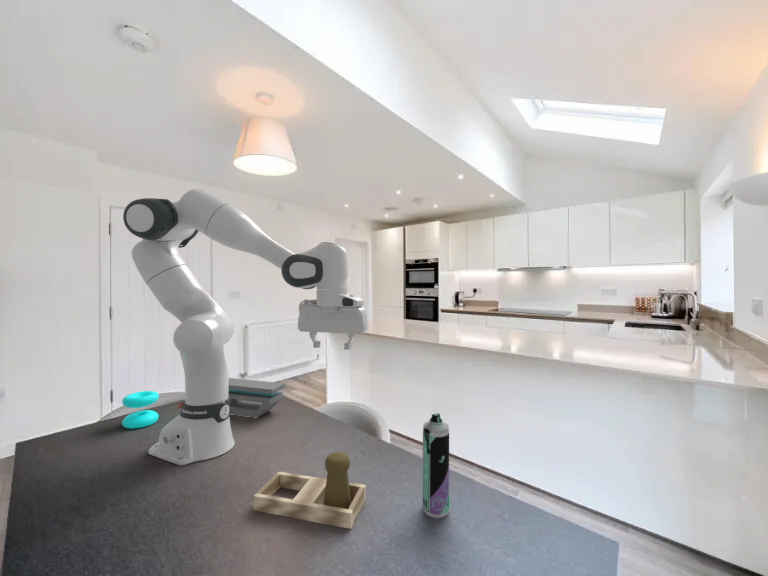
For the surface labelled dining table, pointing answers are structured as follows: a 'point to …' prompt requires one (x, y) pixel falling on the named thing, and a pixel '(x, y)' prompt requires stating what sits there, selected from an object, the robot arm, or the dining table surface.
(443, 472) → the spray can
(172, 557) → the dining table surface
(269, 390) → the grey lidded container
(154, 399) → the donuts
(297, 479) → the socket rail
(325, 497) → the olive round-headed peg
